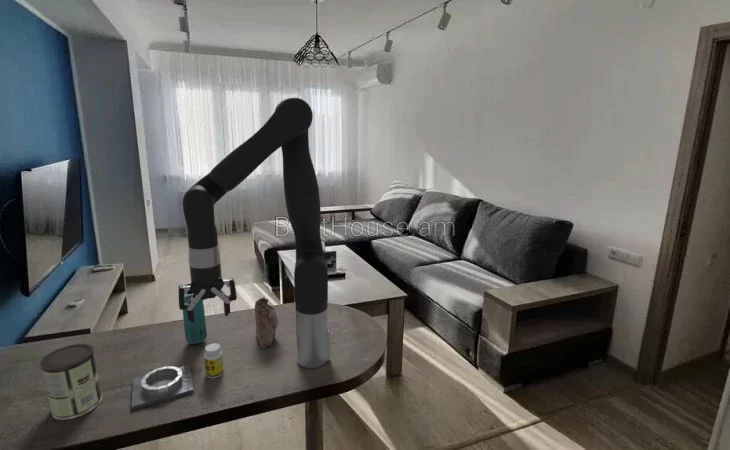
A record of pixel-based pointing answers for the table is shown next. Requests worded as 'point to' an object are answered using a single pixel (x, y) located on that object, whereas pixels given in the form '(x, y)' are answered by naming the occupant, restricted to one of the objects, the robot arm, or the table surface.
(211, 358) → the supplement bottle
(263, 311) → the stone
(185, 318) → the beverage bottle
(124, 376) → the table surface
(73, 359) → the coffee can
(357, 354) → the table surface
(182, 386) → the ring base
